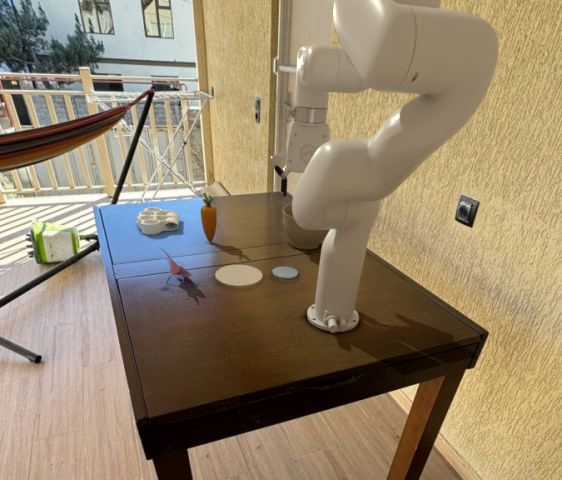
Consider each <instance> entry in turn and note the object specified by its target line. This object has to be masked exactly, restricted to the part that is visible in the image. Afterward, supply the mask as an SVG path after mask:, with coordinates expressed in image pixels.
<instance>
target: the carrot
mask: <svg viewBox="0 0 562 480" xmlns="http://www.w3.org/2000/svg"><path fill="white" fill-rule="evenodd" d="M202 195H203V197H204V198H202V201H203V203H204V204H205V205H202V207H201V208H200V218H201V225H202V229H203V233H204V235H205V237H206V239H207V241H208V242H209V243H212V242H213V241H214V238H215V235H216V230H217V222H218V221H217V217H218V215H217V214H218V213H217V212H218V211H217V208H216V206H214V205H212V201H213V200H214V197H213V196H212V195H211V194H208V195H207V193H206V192H203V193H202Z"/></svg>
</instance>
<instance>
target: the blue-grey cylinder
mask: <svg viewBox="0 0 562 480" xmlns="http://www.w3.org/2000/svg"><path fill="white" fill-rule="evenodd" d="M272 275H273V277H275V278H277V279H281V280H291V279H295V278H297V277H298V276H299V272H298V270H297V269H296V268H294V267H291V266H284V265H283V266H276V267H274V268H273V269H272Z"/></svg>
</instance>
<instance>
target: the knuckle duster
mask: <svg viewBox="0 0 562 480" xmlns="http://www.w3.org/2000/svg"><path fill="white" fill-rule="evenodd" d="M179 218H180V214H179V213H178V212H177V211H175V210H169V209H162V208H160V207H156V206H155V207H154V206H152V207H151V206H150V207H146V208H144V209H143V211H140V212H139V213H138V216H136V217H135V219H137V221H135V222H134V223H133V225H136V226H138V227H139V229H140V230H141V233H142V234H144V235H149V236H152V235H153V236H155V235H158V234H160V233H162V232H172V231H175V230H177V229H178V228H179V223H180V219H179Z"/></svg>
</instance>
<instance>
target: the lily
mask: <svg viewBox="0 0 562 480" xmlns="http://www.w3.org/2000/svg"><path fill="white" fill-rule="evenodd" d="M159 249H160V250H161V251H163V253H164V254H165V255H166V256H167V258H165V260H166V261H167V262H169V270H170V274H169V276H168V278H167V280H166V283H165V285H168V283H169V281H170V279H171V277H172V276H182V277H184V278H186V279H188V280H189V281H190V282H192V283H194V281H193V280H192V279H191V278H190V277H193V275H192V273H191V272H190V271H189V270H187V269H186V268H185V267H184V263H181V261H180V262H179V264H178V263H176V261H175V260H174V259H172V258H171V256H170V254H169V253H168V252H167V251H166V250H164V248H162V247H160V246H159Z"/></svg>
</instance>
